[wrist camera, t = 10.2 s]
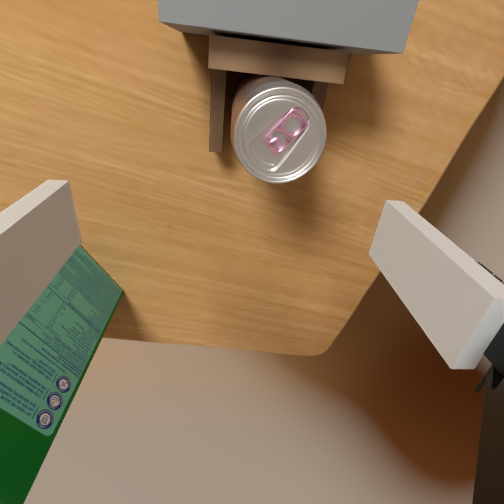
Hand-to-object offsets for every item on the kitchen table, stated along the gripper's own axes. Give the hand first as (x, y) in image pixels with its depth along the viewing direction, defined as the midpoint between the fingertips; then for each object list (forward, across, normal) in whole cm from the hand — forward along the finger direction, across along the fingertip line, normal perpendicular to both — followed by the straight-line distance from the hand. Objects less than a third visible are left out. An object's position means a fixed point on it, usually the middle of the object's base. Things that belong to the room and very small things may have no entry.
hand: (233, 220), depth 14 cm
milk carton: (+23, -19, -21) cm, 36 cm away
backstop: (+22, +3, +9) cm, 24 cm away
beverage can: (+22, +3, +2) cm, 23 cm away
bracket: (+22, +3, +3) cm, 22 cm away
